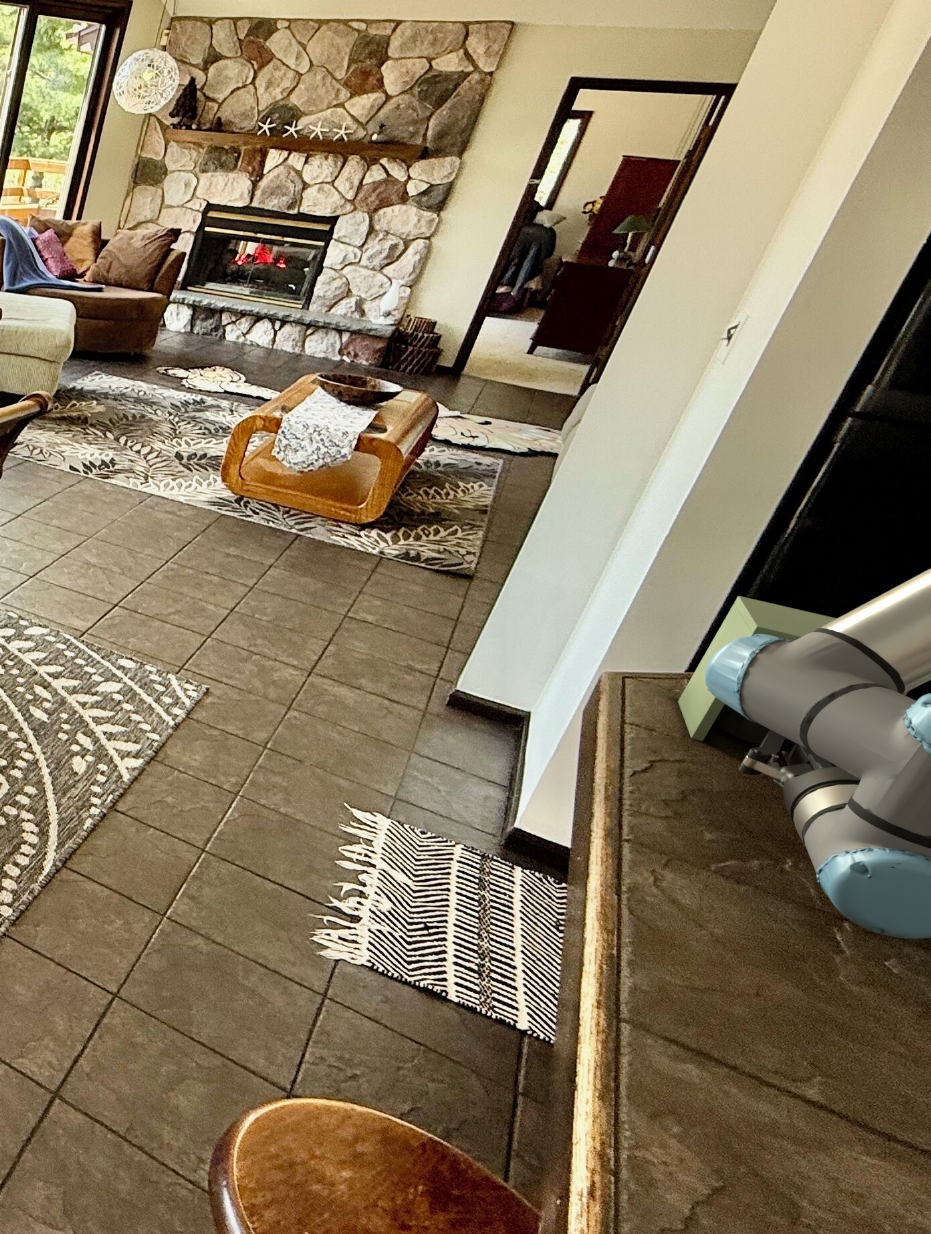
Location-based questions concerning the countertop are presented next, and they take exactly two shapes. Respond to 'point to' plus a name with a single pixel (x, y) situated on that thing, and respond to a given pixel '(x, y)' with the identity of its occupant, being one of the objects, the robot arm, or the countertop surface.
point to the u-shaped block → (738, 623)
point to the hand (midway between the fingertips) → (799, 724)
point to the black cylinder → (740, 726)
